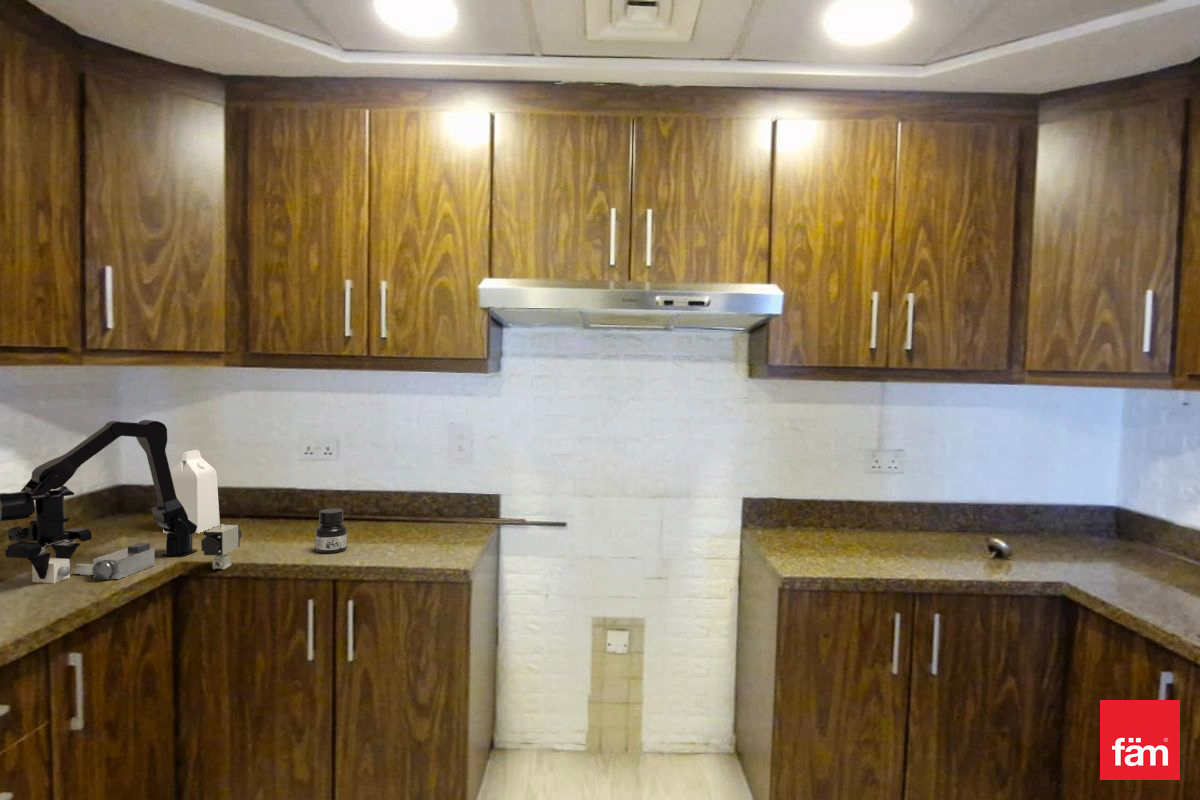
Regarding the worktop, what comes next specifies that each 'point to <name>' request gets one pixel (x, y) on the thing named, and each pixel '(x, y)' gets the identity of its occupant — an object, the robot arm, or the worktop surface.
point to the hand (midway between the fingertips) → (51, 575)
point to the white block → (54, 571)
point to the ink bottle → (331, 532)
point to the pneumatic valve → (221, 544)
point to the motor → (119, 562)
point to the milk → (197, 490)
